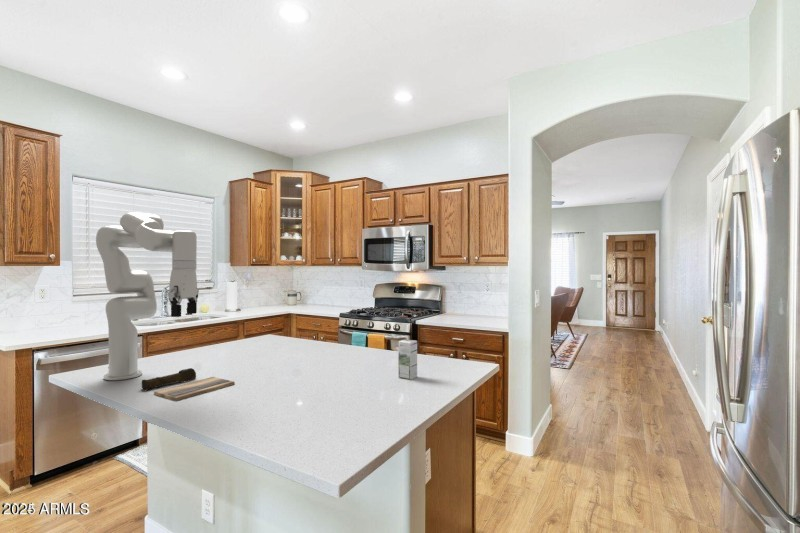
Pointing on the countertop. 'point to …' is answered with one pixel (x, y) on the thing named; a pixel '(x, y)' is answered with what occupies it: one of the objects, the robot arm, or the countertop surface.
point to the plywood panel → (193, 388)
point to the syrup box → (407, 359)
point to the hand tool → (169, 379)
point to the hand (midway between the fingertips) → (184, 315)
